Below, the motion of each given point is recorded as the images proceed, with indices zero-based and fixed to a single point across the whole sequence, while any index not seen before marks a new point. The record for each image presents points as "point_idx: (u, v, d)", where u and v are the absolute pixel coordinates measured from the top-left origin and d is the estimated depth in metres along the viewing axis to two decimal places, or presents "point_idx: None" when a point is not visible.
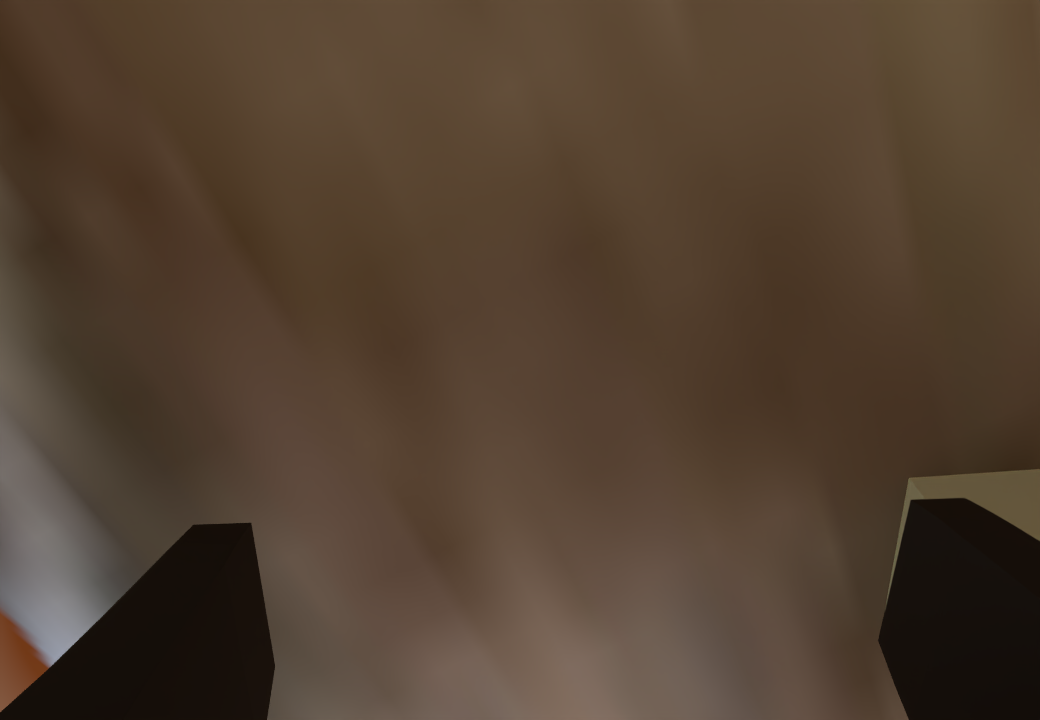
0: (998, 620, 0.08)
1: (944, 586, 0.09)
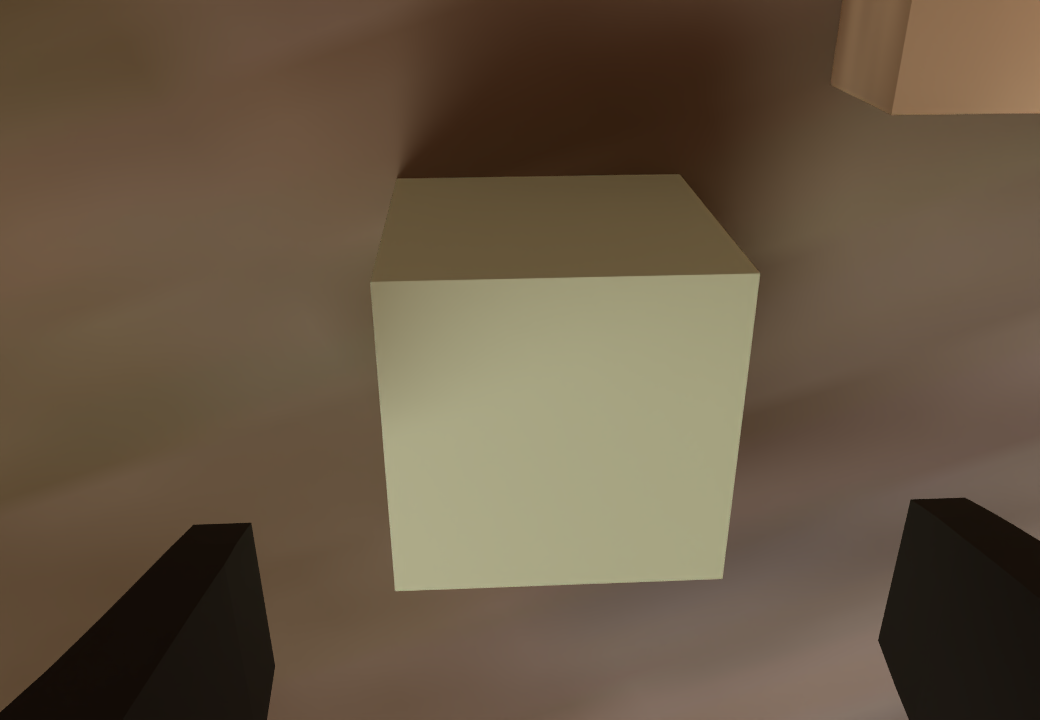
0: (998, 620, 0.08)
1: (944, 586, 0.09)
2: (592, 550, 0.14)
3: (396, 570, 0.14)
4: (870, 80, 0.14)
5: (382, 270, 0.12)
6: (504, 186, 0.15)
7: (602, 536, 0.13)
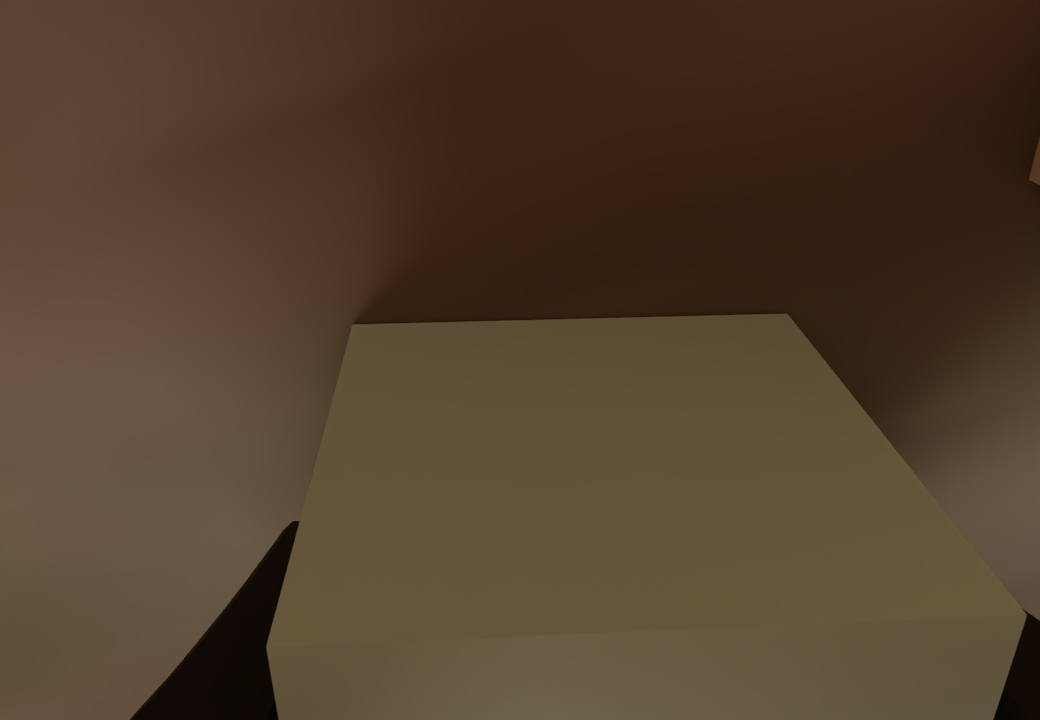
0: None
1: None
2: None
3: None
4: None
5: (295, 603, 0.06)
6: (520, 347, 0.10)
7: None
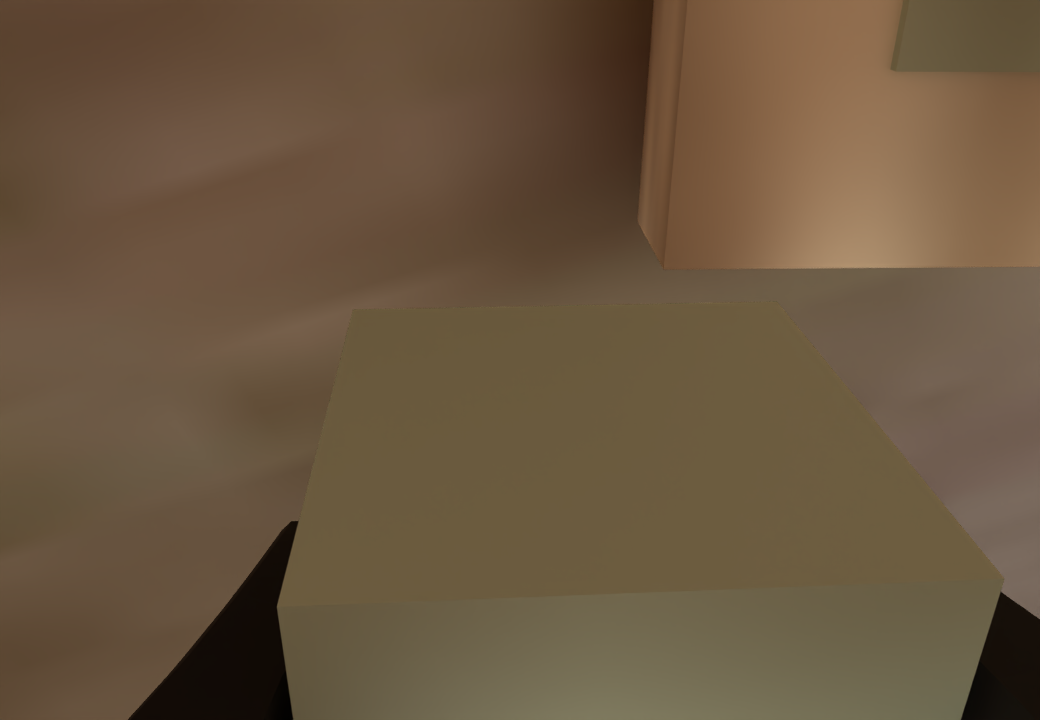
0: None
1: None
2: None
3: None
4: (654, 232, 0.16)
5: (304, 566, 0.06)
6: (517, 331, 0.10)
7: None
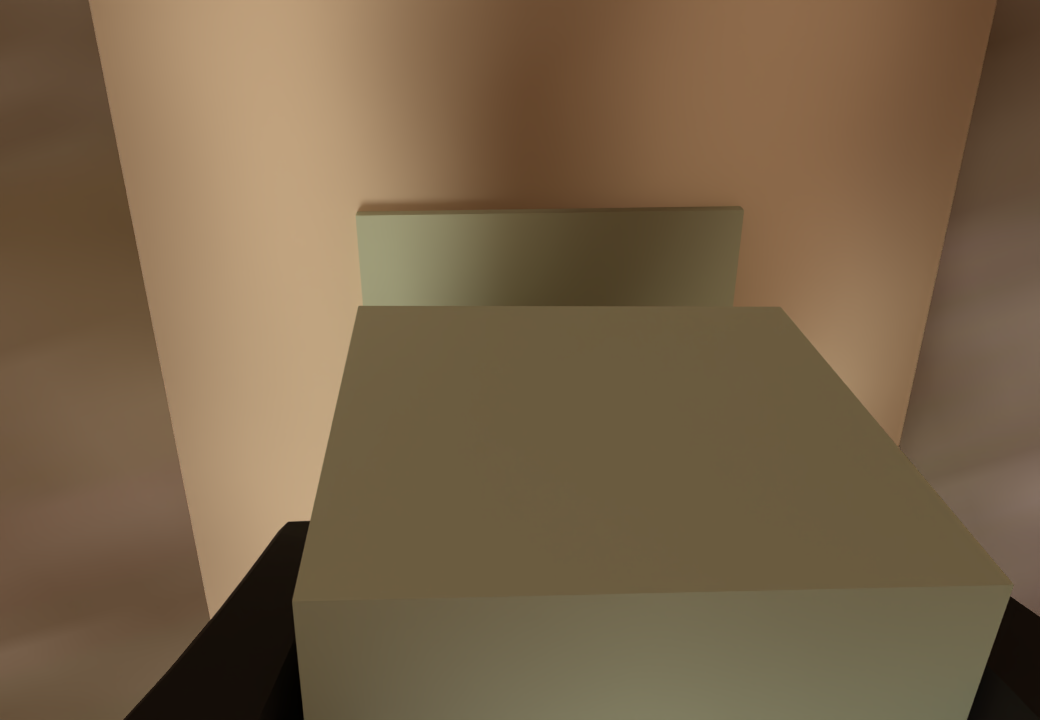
0: None
1: None
2: None
3: None
4: None
5: (318, 562, 0.06)
6: (524, 331, 0.10)
7: None
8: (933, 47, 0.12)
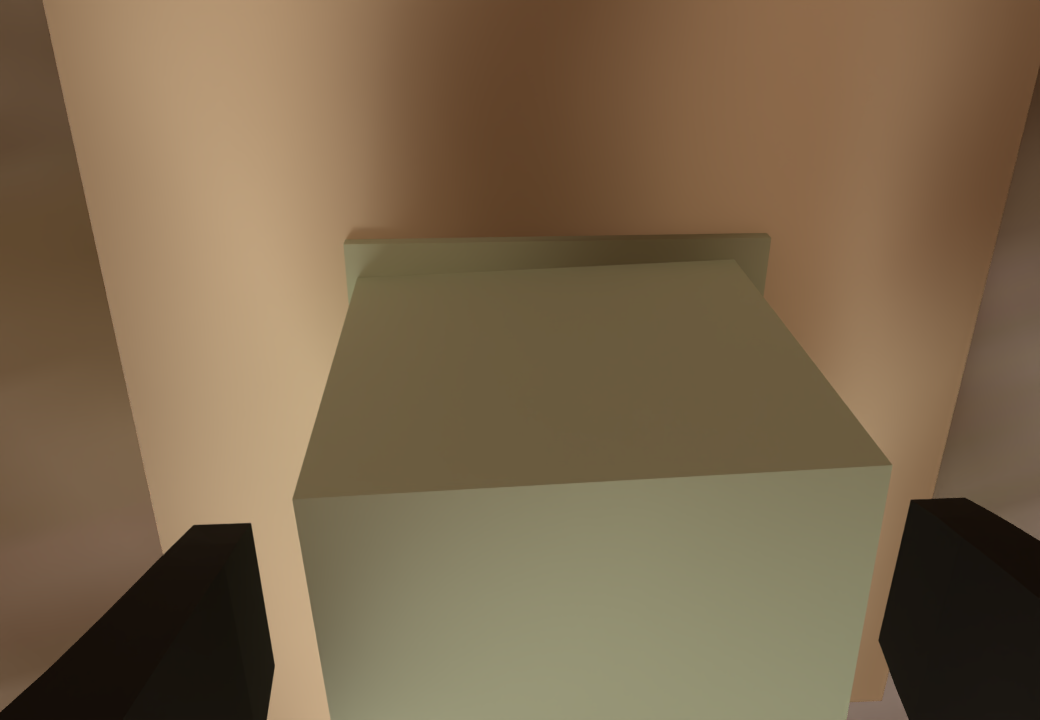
0: (998, 620, 0.08)
1: (944, 586, 0.09)
2: None
3: None
4: None
5: (314, 471, 0.08)
6: (501, 290, 0.11)
7: None
8: (982, 59, 0.11)
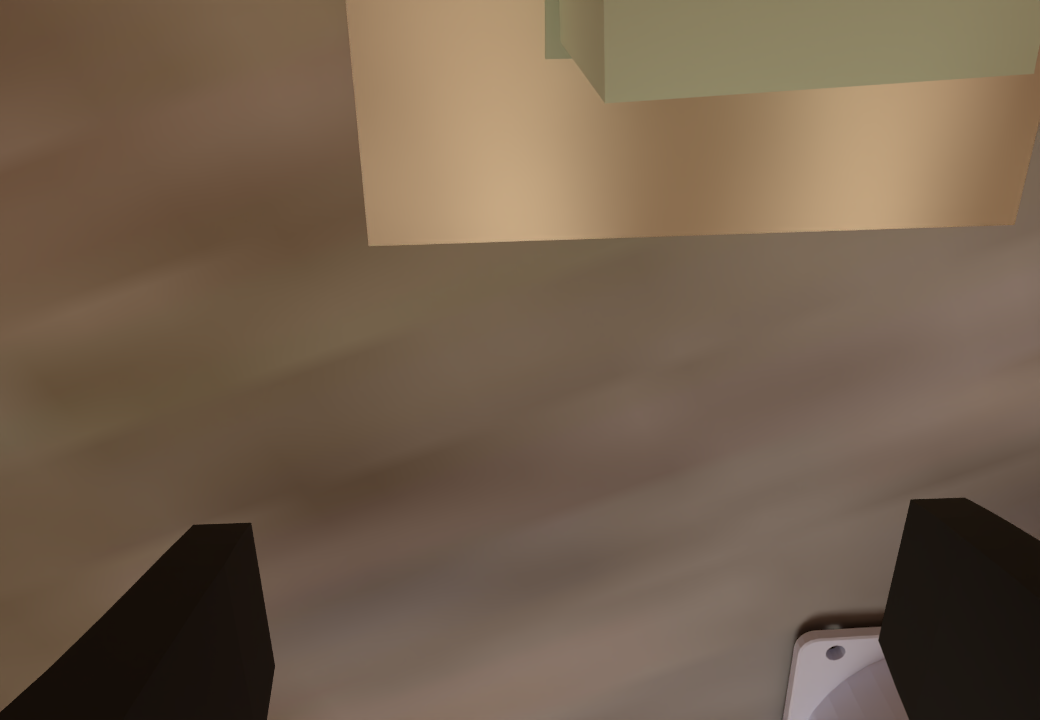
0: (998, 620, 0.08)
1: (944, 586, 0.09)
2: (868, 28, 0.10)
3: (608, 68, 0.10)
4: None
5: None
6: None
7: (883, 2, 0.10)
8: None
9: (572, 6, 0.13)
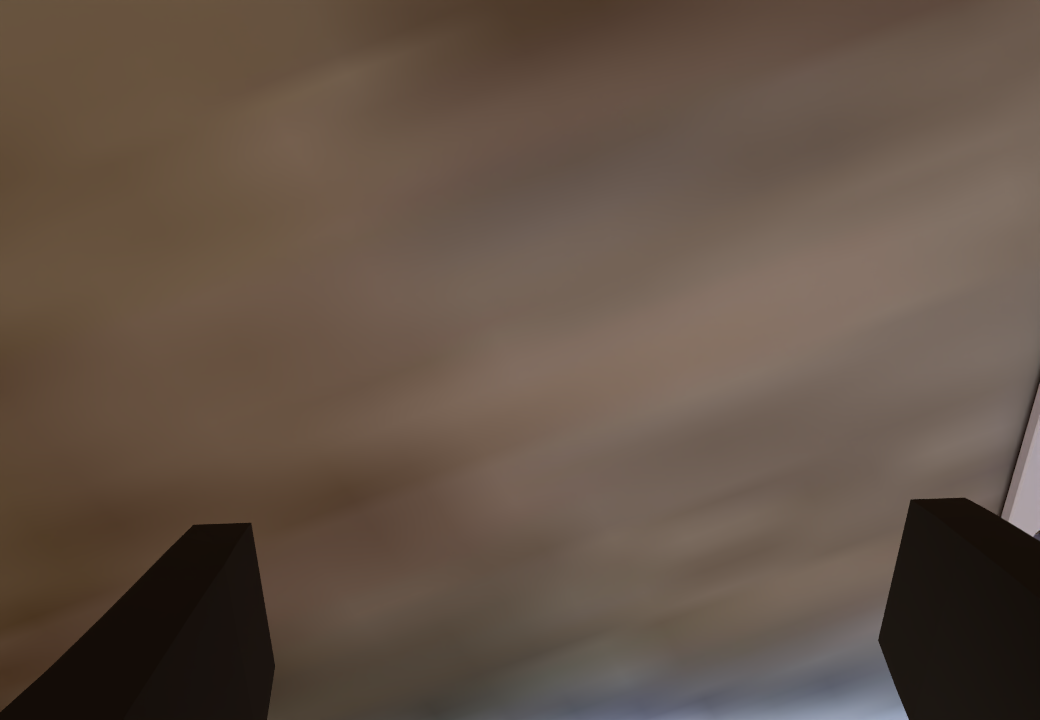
0: (998, 620, 0.08)
1: (944, 586, 0.09)
2: None
3: None
4: None
5: None
6: None
7: None
8: None
9: None
